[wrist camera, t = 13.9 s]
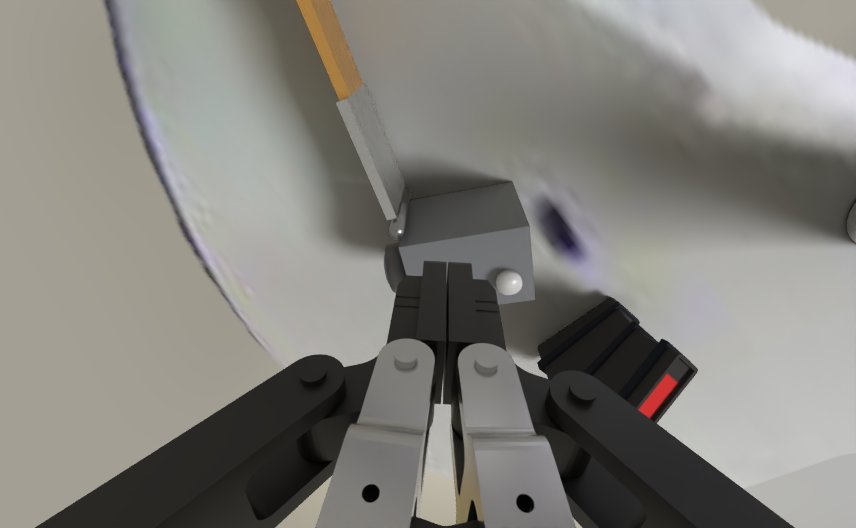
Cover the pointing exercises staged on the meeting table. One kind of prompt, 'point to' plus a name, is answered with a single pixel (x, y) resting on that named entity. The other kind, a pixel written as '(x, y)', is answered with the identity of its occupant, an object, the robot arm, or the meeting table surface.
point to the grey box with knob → (468, 239)
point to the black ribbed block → (620, 358)
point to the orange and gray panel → (359, 113)
